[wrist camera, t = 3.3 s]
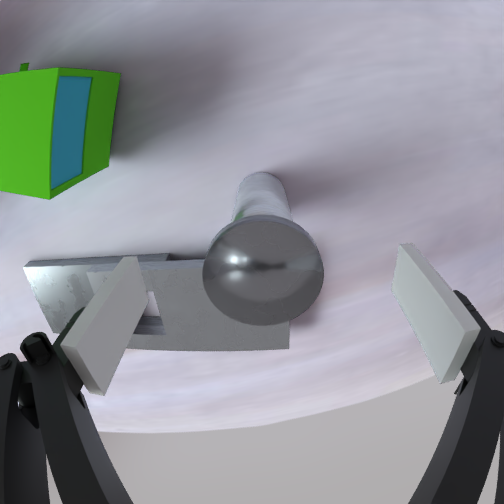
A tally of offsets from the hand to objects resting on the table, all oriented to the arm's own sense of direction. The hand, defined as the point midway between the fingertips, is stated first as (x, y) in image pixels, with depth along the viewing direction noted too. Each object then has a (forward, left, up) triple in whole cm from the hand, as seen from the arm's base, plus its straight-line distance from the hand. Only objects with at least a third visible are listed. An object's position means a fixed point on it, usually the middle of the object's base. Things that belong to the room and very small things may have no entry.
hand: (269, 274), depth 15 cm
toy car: (-10, -18, -13) cm, 24 cm away
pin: (0, 0, -12) cm, 12 cm away
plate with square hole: (+10, -13, -12) cm, 21 cm away
